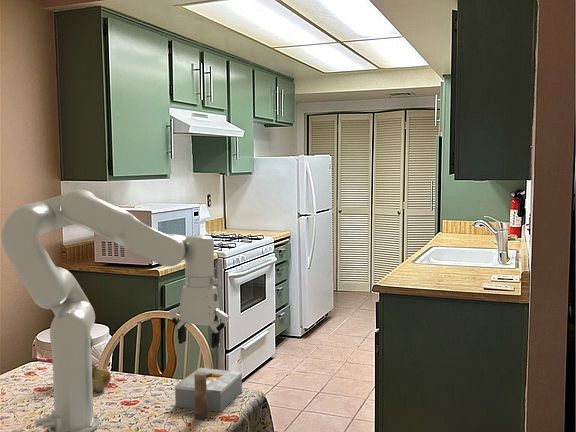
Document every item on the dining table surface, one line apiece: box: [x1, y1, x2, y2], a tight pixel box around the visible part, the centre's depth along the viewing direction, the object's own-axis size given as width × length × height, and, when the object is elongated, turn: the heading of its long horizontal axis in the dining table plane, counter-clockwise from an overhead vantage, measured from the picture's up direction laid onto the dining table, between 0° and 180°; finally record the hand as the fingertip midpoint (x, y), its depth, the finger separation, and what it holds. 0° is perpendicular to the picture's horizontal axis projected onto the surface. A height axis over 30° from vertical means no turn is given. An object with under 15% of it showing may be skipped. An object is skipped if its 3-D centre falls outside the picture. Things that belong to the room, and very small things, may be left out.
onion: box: [92, 364, 112, 393], centre depth 179 cm, size 8×8×8 cm
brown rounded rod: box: [194, 372, 208, 421], centre depth 159 cm, size 3×3×12 cm
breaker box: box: [174, 367, 243, 413], centre depth 172 cm, size 16×14×6 cm
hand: (198, 344), depth 158 cm, fingers open, 9 cm apart
